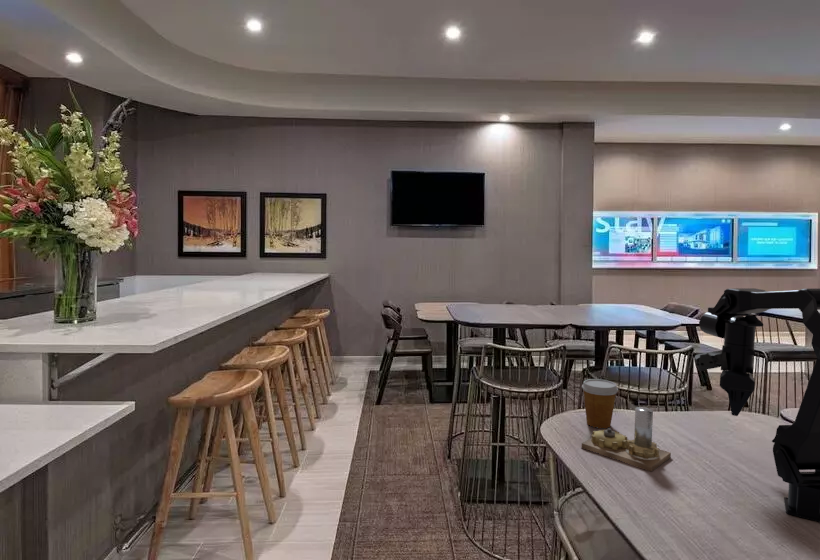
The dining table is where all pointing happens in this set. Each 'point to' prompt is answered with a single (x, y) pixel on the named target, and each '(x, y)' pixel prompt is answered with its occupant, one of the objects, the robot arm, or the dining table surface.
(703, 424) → the dining table surface
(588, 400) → the disposable coffee cup
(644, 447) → the pinion
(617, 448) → the gear board
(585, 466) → the dining table surface
